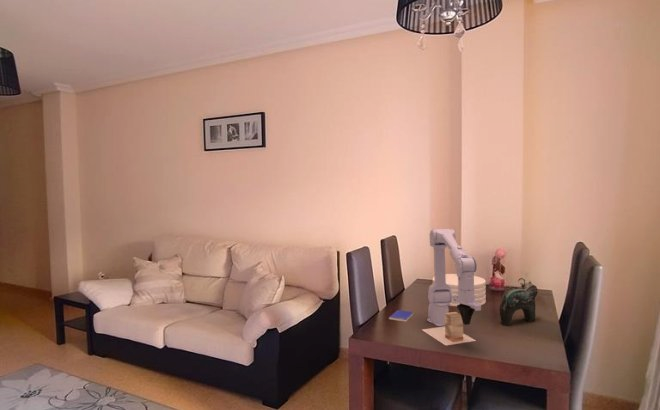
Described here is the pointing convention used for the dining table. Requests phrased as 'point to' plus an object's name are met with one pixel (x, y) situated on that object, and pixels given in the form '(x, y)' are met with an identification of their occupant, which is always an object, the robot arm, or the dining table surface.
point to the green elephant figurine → (518, 302)
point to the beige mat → (440, 336)
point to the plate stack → (478, 288)
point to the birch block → (453, 326)
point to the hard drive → (401, 315)
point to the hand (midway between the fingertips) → (466, 324)
